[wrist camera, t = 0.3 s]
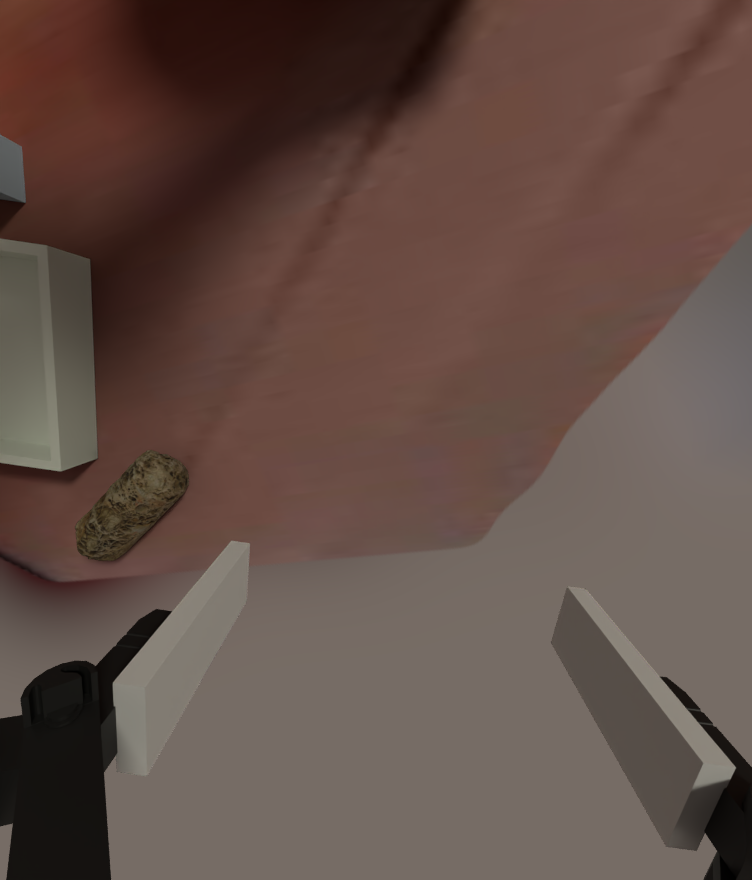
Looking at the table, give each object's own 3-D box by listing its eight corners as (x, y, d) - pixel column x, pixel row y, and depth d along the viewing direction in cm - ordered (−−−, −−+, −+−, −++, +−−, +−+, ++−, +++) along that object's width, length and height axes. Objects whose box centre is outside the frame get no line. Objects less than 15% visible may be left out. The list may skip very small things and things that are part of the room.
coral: (167, 438, 43) (131, 452, 37) (207, 475, 44) (178, 494, 38) (94, 515, 45) (50, 540, 39) (133, 548, 46) (95, 577, 40)
